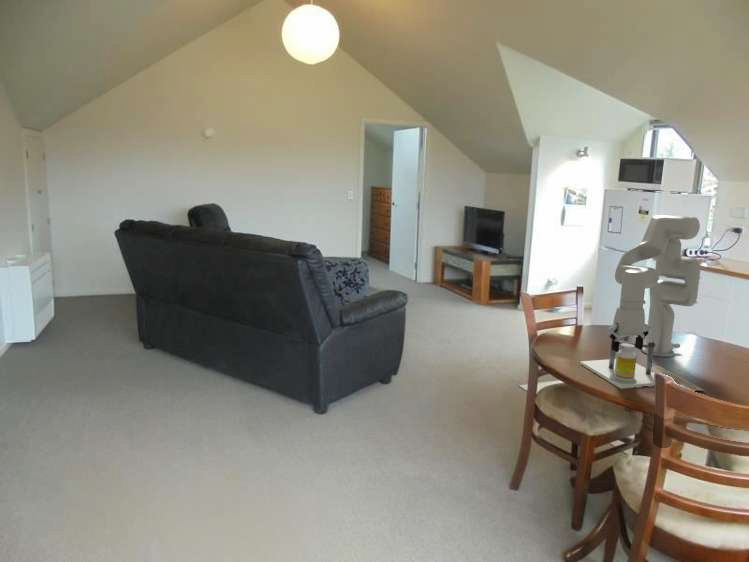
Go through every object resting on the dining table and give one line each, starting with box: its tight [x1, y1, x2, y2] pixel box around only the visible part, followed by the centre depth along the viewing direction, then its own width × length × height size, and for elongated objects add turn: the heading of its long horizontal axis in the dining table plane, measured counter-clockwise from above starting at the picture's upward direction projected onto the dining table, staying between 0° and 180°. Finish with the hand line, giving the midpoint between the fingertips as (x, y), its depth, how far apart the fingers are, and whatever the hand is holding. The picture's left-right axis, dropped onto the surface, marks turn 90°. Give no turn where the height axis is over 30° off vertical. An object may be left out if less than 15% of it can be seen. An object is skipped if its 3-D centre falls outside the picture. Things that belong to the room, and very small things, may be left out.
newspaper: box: [651, 365, 707, 393], centre depth 196 cm, size 24×7×2 cm, turn 8°
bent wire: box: [609, 336, 655, 375], centre depth 203 cm, size 12×16×13 cm
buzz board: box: [579, 358, 655, 390], centre depth 201 cm, size 21×25×2 cm
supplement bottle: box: [614, 343, 638, 381], centre depth 191 cm, size 7×7×13 cm
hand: (626, 349), depth 191 cm, fingers open, 9 cm apart
